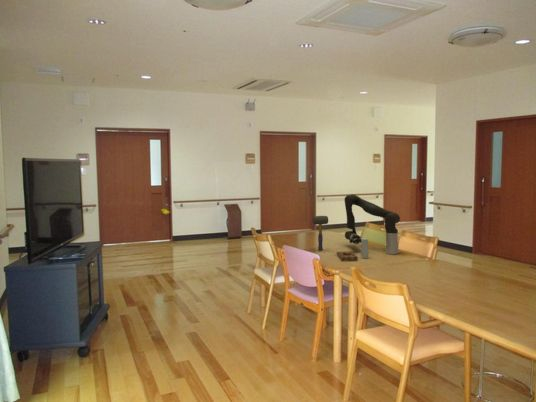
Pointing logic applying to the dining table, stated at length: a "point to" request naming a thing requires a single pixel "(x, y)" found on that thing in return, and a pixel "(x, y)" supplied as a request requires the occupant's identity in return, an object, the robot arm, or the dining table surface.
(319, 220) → the rubber mallet
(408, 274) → the dining table surface
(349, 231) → the robot arm
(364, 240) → the plank post
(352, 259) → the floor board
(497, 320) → the dining table surface
